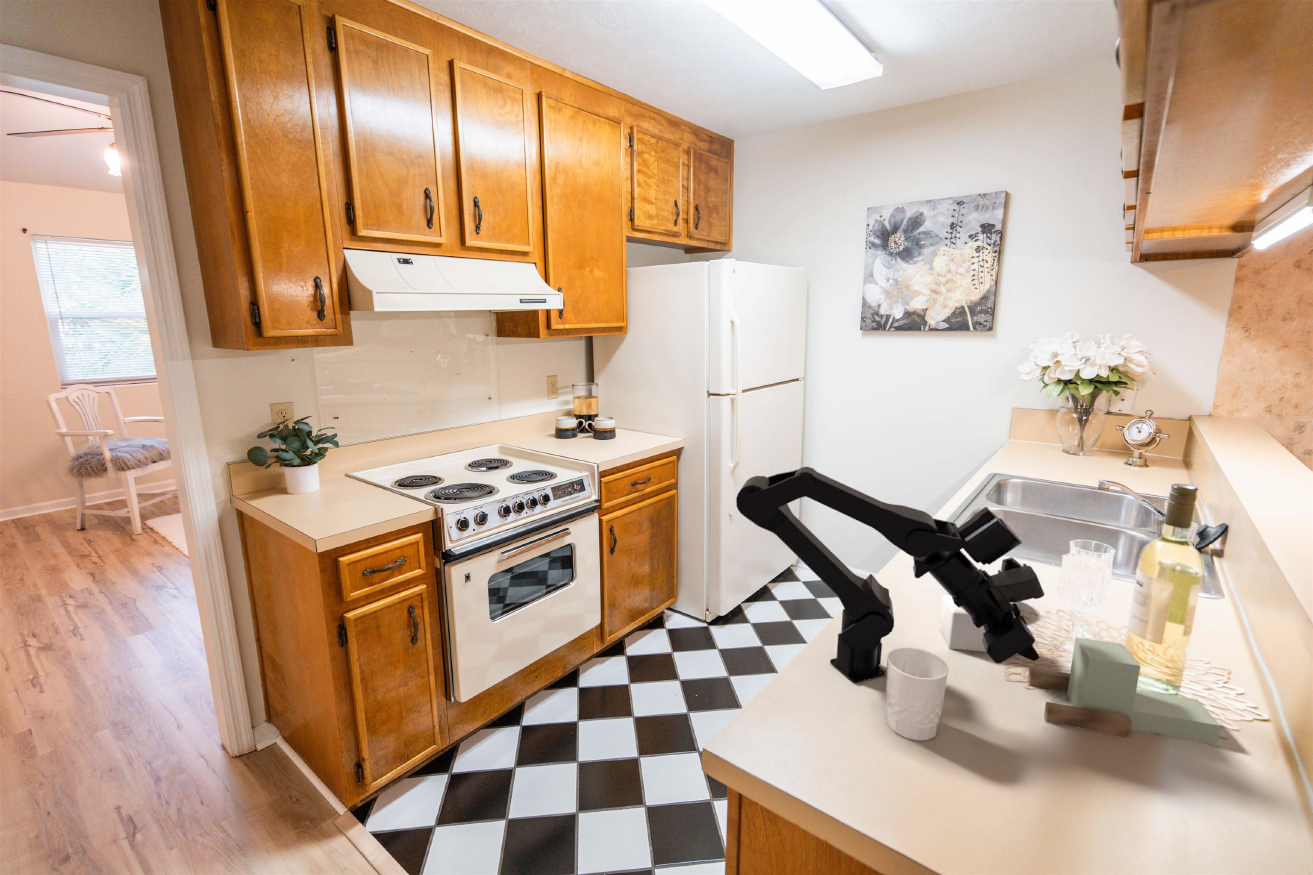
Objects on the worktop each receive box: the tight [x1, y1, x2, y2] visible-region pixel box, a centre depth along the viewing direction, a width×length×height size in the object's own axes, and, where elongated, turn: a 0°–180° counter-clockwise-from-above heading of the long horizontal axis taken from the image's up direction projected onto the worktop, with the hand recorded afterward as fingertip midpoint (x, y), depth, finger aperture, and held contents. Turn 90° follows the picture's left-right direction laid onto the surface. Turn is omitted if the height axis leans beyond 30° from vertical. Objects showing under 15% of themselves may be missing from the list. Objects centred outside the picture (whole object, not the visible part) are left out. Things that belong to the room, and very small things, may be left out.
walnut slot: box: [1027, 666, 1132, 738], centre depth 89 cm, size 10×10×2 cm
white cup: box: [885, 647, 949, 742], centre depth 85 cm, size 8×8×10 cm
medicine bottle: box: [938, 594, 986, 653], centre depth 107 cm, size 7×7×12 cm
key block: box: [1066, 636, 1221, 745], centre depth 86 cm, size 16×6×10 cm, turn 71°
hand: (1036, 658), depth 90 cm, fingers closed
